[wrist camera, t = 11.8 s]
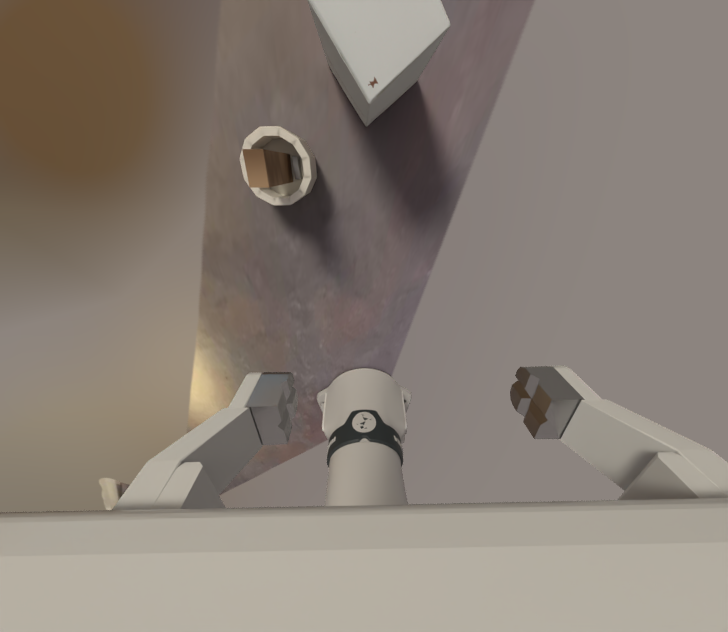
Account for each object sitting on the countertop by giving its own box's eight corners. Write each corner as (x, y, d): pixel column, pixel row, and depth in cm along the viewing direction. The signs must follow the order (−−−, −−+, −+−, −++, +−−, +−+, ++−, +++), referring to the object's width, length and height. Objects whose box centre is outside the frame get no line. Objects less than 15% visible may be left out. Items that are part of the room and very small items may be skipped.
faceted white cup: (319, 200, 35) (314, 204, 31) (262, 201, 35) (250, 205, 31) (312, 130, 31) (305, 125, 27) (248, 132, 31) (232, 127, 27)
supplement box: (419, 80, 29) (455, 28, 18) (365, 128, 31) (367, 108, 20) (382, 1, 26) (397, -119, 15) (325, 60, 28) (302, -7, 17)
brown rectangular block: (293, 182, 33) (269, 187, 24) (278, 181, 33) (249, 187, 24) (289, 153, 31) (263, 149, 23) (275, 154, 31) (242, 149, 23)
